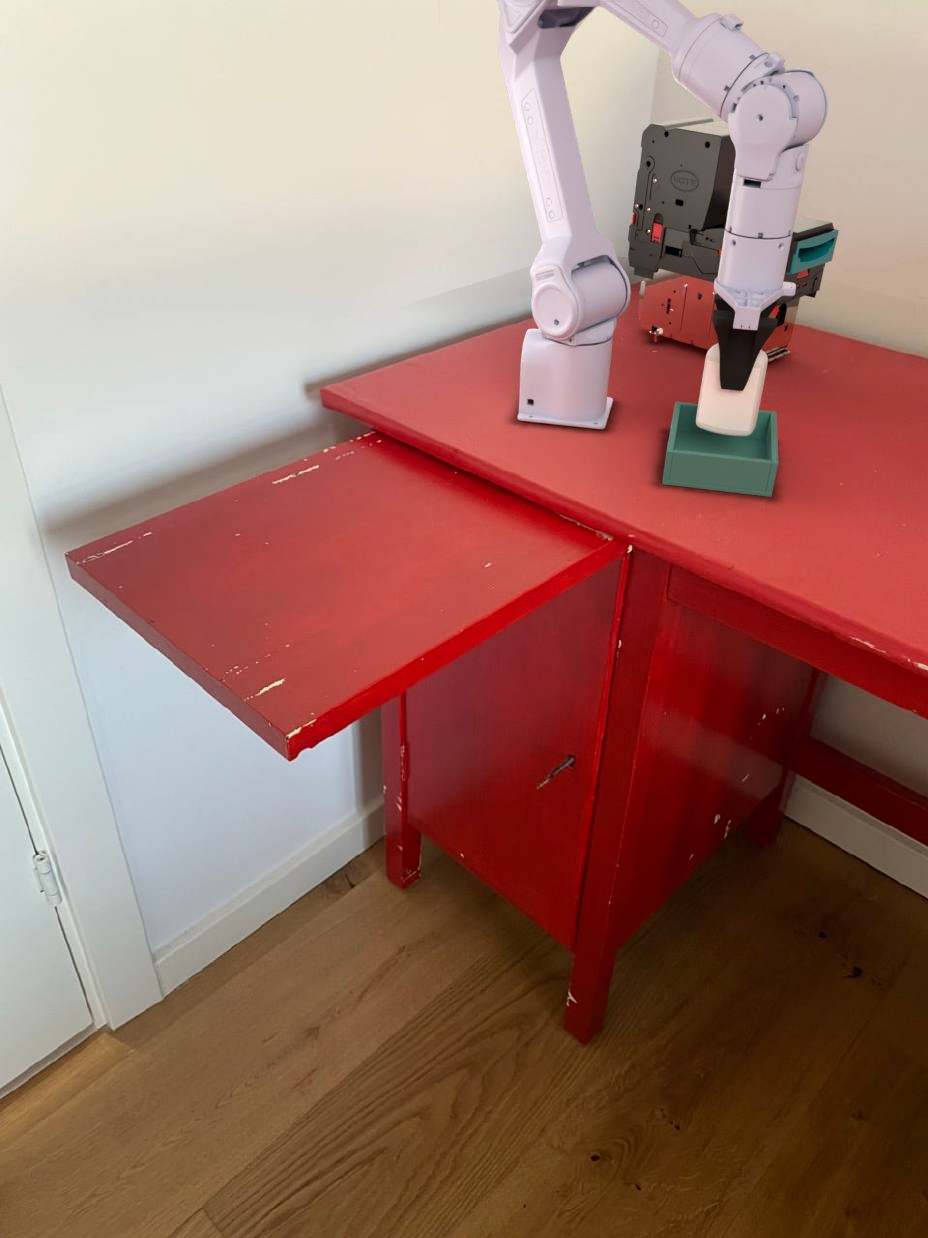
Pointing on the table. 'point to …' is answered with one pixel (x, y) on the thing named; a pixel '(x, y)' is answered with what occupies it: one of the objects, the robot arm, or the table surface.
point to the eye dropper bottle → (729, 398)
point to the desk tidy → (721, 455)
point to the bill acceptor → (703, 235)
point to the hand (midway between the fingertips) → (732, 380)
